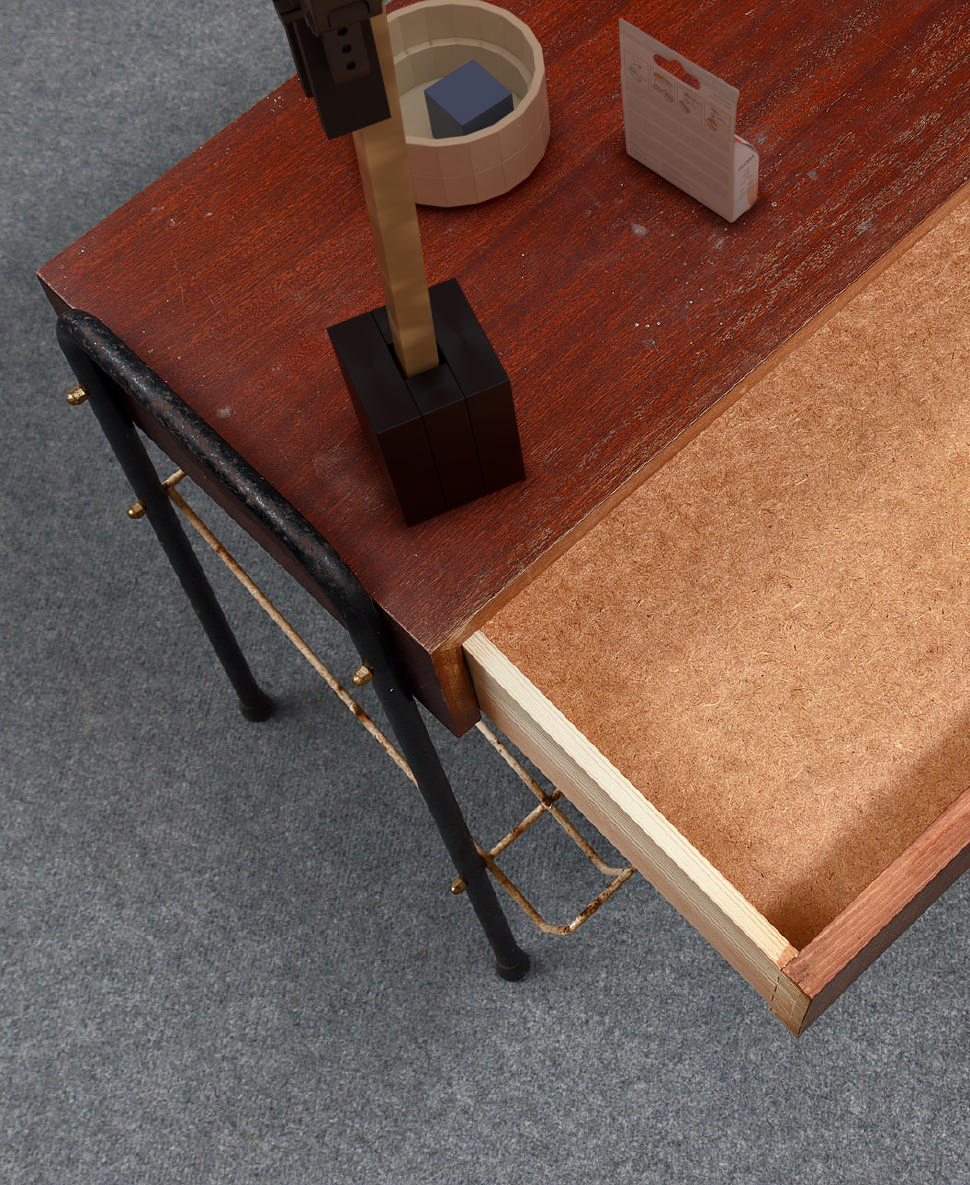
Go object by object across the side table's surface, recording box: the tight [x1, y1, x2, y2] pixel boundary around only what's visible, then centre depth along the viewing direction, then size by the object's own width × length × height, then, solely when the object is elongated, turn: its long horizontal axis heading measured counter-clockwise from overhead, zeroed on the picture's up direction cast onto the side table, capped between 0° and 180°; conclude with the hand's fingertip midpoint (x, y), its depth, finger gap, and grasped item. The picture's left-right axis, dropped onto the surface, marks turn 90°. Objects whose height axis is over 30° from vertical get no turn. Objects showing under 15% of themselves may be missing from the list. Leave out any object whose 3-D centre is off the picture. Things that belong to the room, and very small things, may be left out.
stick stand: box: [325, 276, 527, 529], centre depth 77 cm, size 7×7×10 cm
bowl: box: [387, 0, 551, 208], centre depth 89 cm, size 12×12×6 cm
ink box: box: [618, 17, 760, 224], centre depth 84 cm, size 3×9×12 cm, turn 48°
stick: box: [351, 0, 439, 381], centre depth 63 cm, size 2×2×30 cm
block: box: [424, 59, 514, 139], centre depth 89 cm, size 4×4×4 cm
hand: (345, 101), depth 56 cm, fingers closed on stick, 2 cm apart
